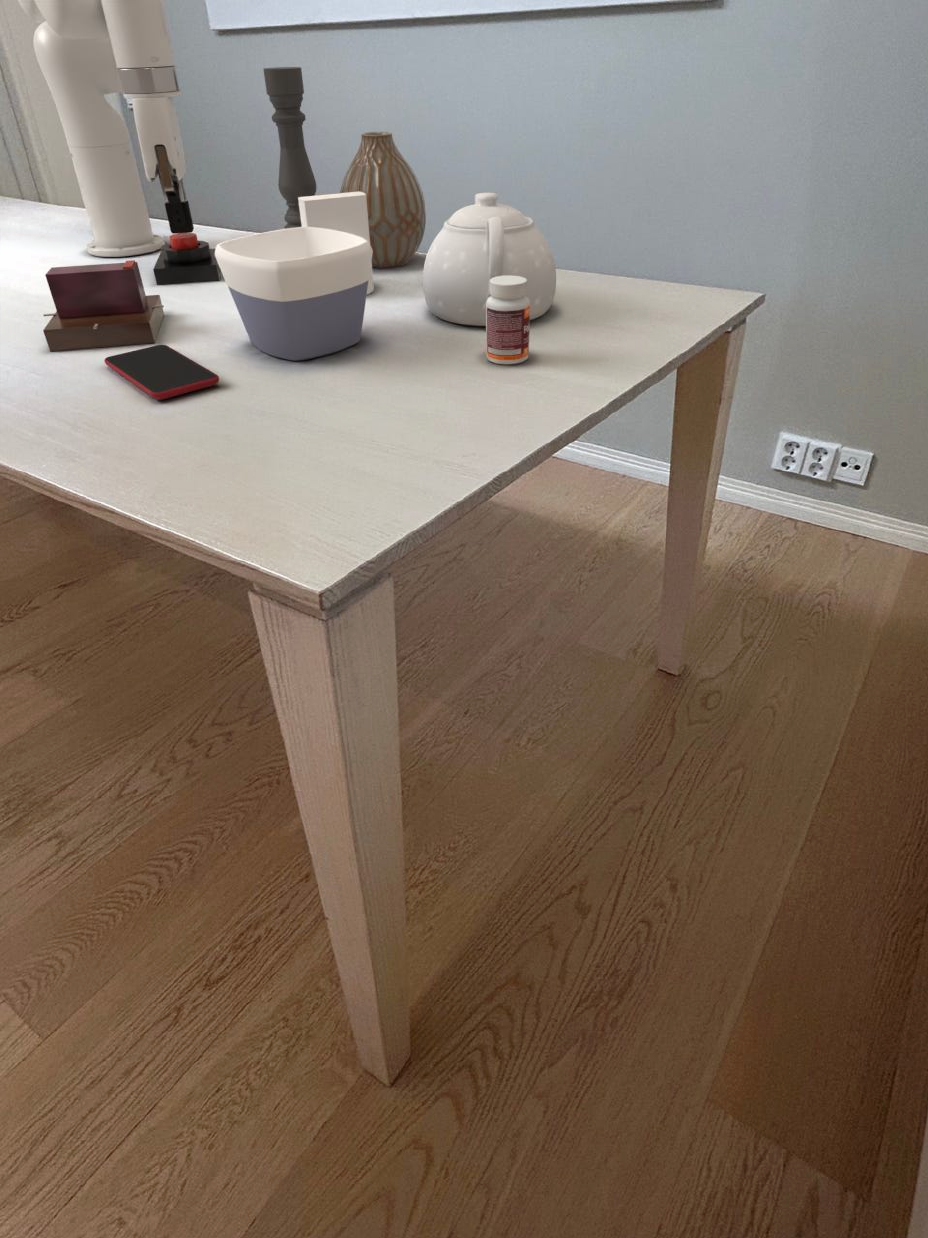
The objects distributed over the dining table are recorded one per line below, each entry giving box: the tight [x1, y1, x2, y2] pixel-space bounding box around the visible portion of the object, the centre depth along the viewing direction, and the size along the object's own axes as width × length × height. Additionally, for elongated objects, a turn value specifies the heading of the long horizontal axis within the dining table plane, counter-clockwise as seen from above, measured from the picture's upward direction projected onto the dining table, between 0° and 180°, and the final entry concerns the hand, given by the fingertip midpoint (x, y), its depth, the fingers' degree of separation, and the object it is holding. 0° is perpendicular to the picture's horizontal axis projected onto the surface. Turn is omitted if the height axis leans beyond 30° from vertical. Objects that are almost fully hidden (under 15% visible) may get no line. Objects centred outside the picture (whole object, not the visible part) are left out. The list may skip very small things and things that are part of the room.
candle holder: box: [262, 66, 318, 229], centre depth 127 cm, size 6×6×25 cm
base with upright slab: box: [298, 192, 375, 295], centre depth 109 cm, size 9×9×12 cm
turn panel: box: [42, 294, 165, 352], centre depth 99 cm, size 14×14×3 cm
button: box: [168, 232, 199, 249], centre depth 120 cm, size 4×4×2 cm
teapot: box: [422, 192, 557, 327], centre depth 100 cm, size 19×18×14 cm
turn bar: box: [44, 259, 148, 318], centre depth 97 cm, size 10×4×5 cm, turn 101°
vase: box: [339, 131, 427, 269], centre depth 120 cm, size 13×13×18 cm
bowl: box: [214, 227, 373, 362], centre depth 91 cm, size 15×15×11 cm
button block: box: [152, 239, 222, 286], centre depth 121 cm, size 11×9×4 cm
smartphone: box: [103, 344, 220, 401], centre depth 87 cm, size 7×1×15 cm
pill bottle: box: [485, 275, 531, 365], centre depth 87 cm, size 5×5×8 cm
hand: (182, 231), depth 118 cm, fingers closed
